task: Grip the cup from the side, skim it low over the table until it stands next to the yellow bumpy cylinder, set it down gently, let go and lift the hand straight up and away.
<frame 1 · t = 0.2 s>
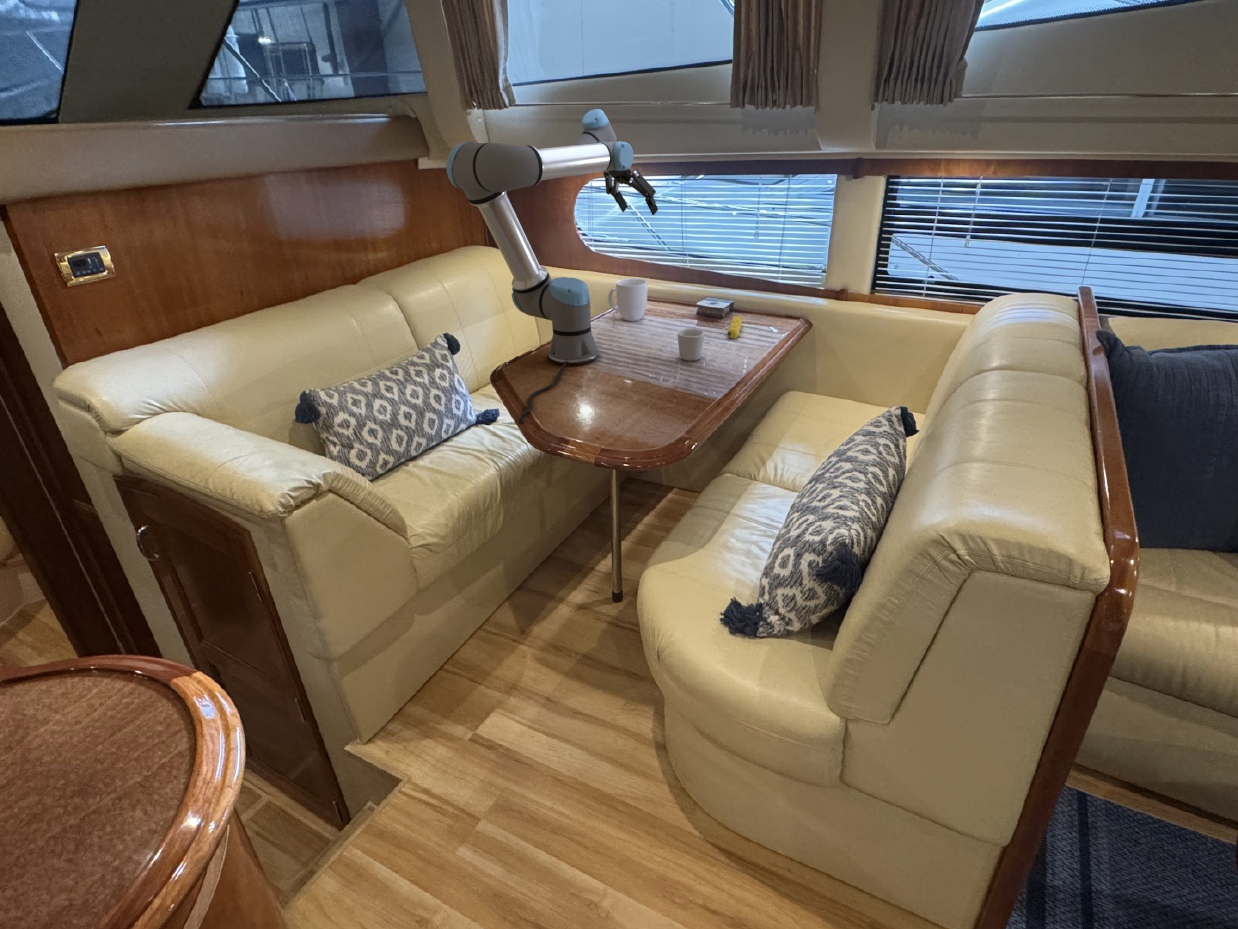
hand: (640, 210, 226), 36 cm above the table, tool tilted 35°, fingers open, 13 cm apart
mug: (629, 318, 240), on the table
yellow bumpy cylinder: (736, 331, 222), on the table
cup: (692, 357, 202), on the table
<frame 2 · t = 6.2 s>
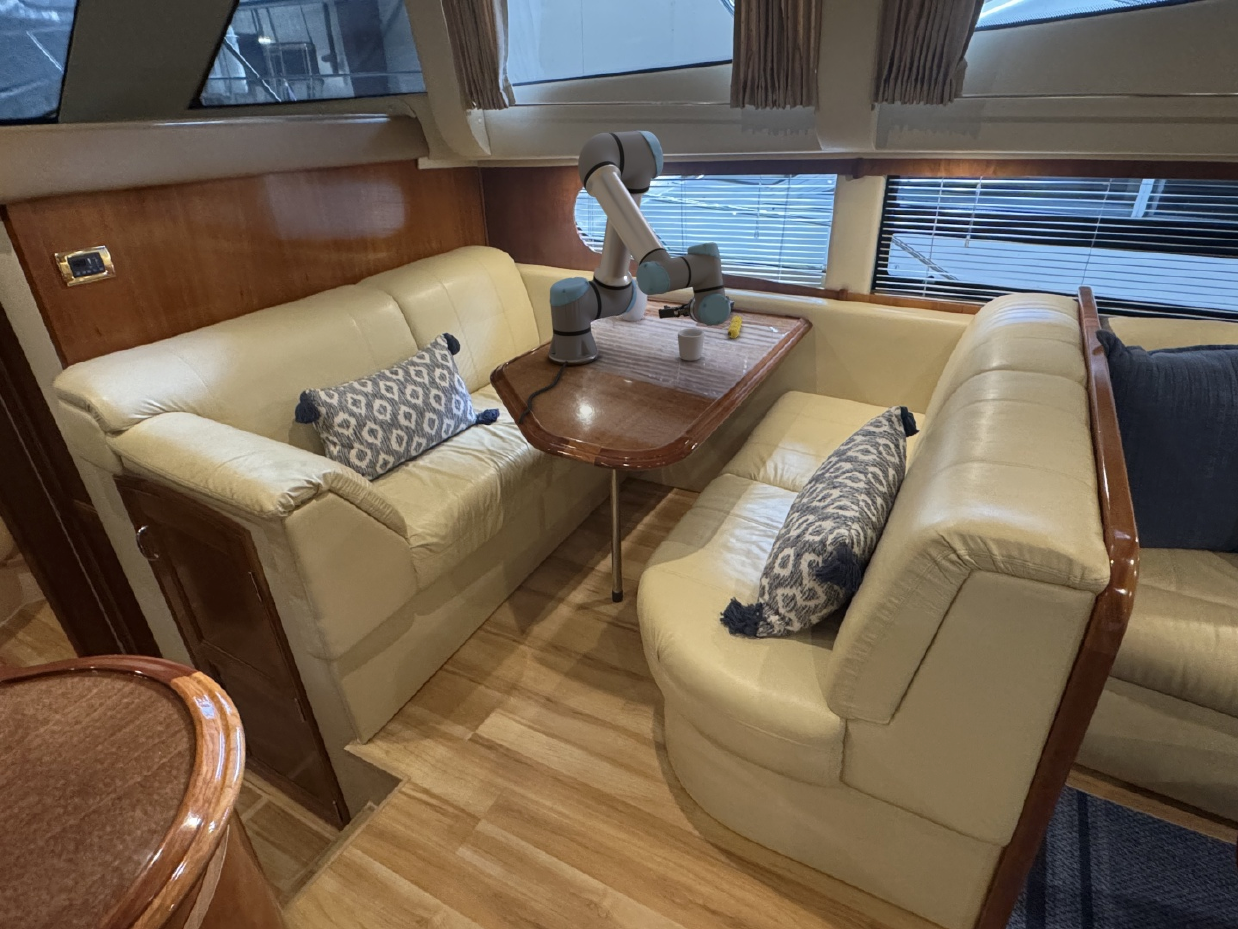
hand: (689, 306, 193), 16 cm above the table, tool horizontal, fingers open, 13 cm apart
nothing on the table moved.
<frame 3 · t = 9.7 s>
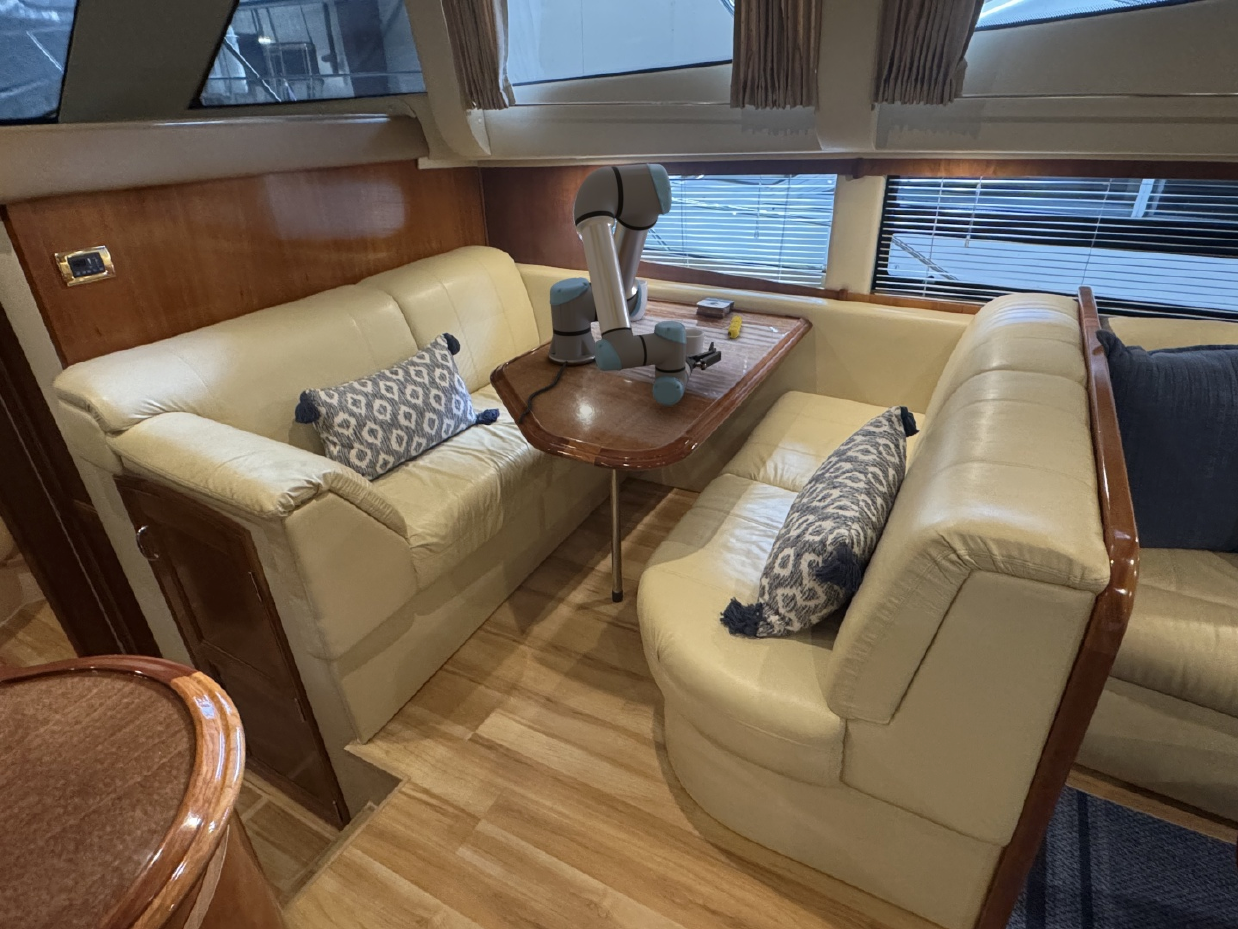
hand: (688, 345, 191), 7 cm above the table, tool horizontal, fingers open, 13 cm apart
nothing on the table moved.
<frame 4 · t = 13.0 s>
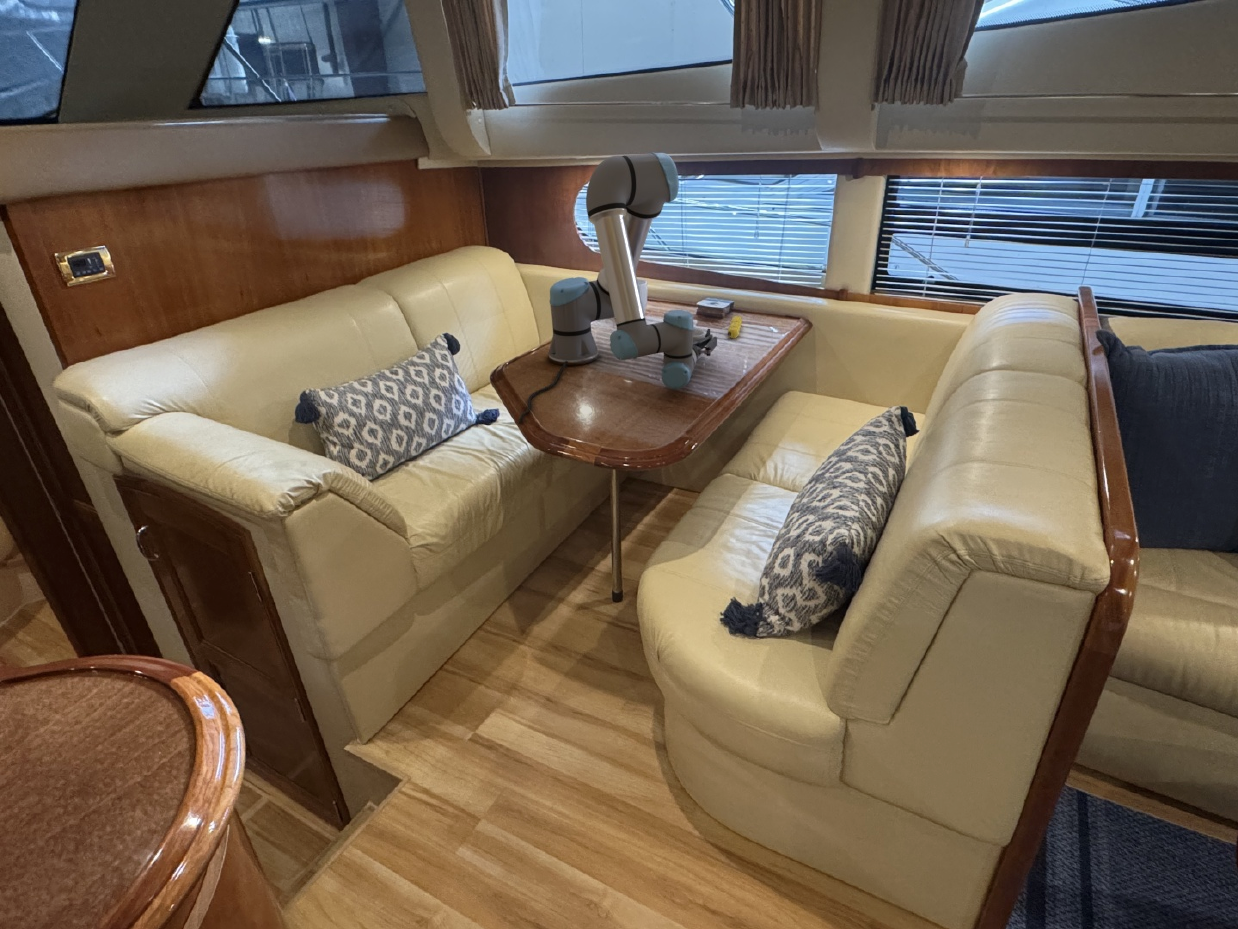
hand: (694, 332, 203), 6 cm above the table, tool horizontal, fingers closed on cup, 8 cm apart
cup: (692, 357, 202), on the table, touching gripper
everything else where it was.
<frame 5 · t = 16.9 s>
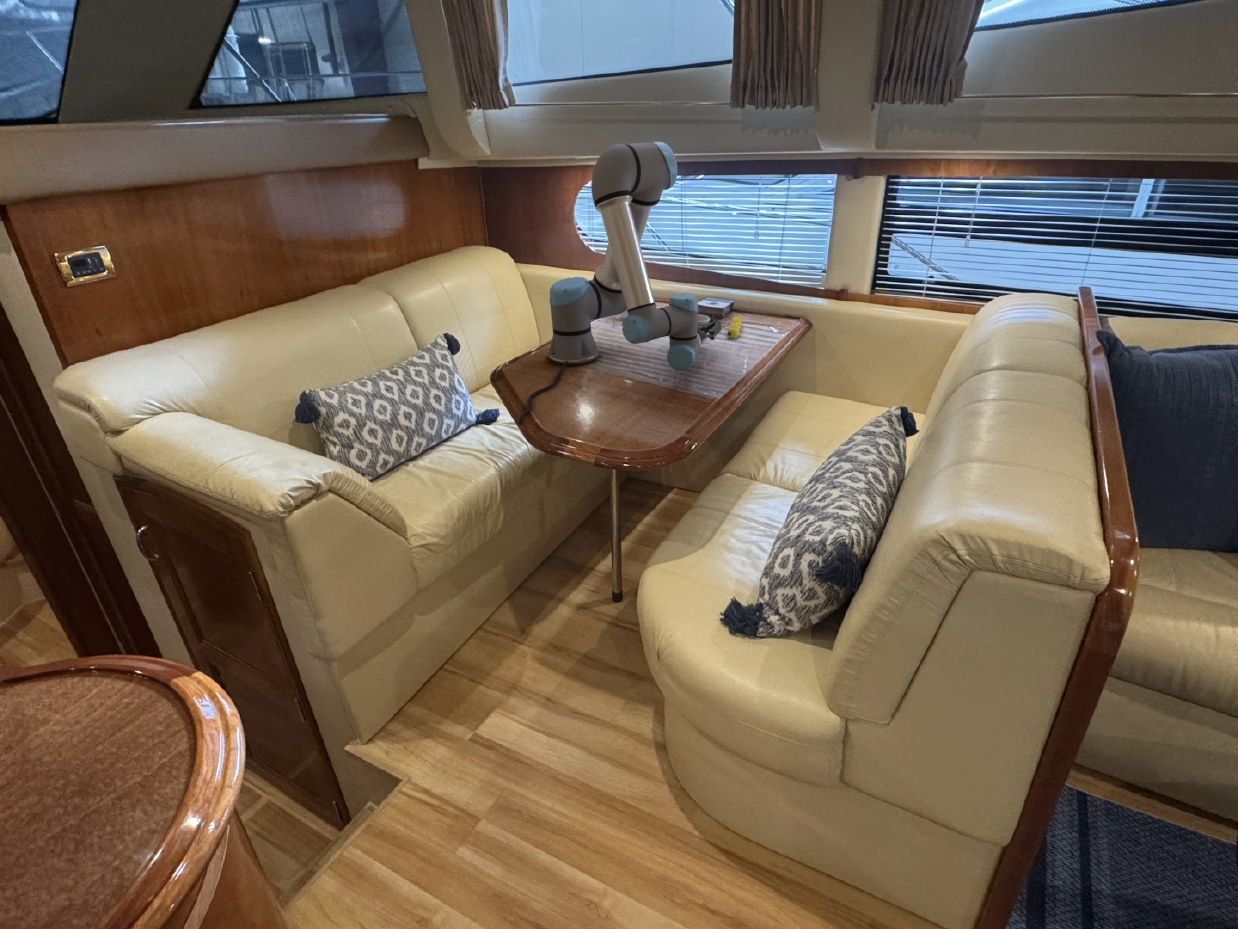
hand: (699, 318, 209), 8 cm above the table, tool horizontal, fingers closed on cup, 8 cm apart
cup: (697, 342, 208), point 2 cm above the table, touching gripper
everything else where it was.
when the fingers open (6 cm above the table, at t = 21.3 s): cup stays where it is, on the table.
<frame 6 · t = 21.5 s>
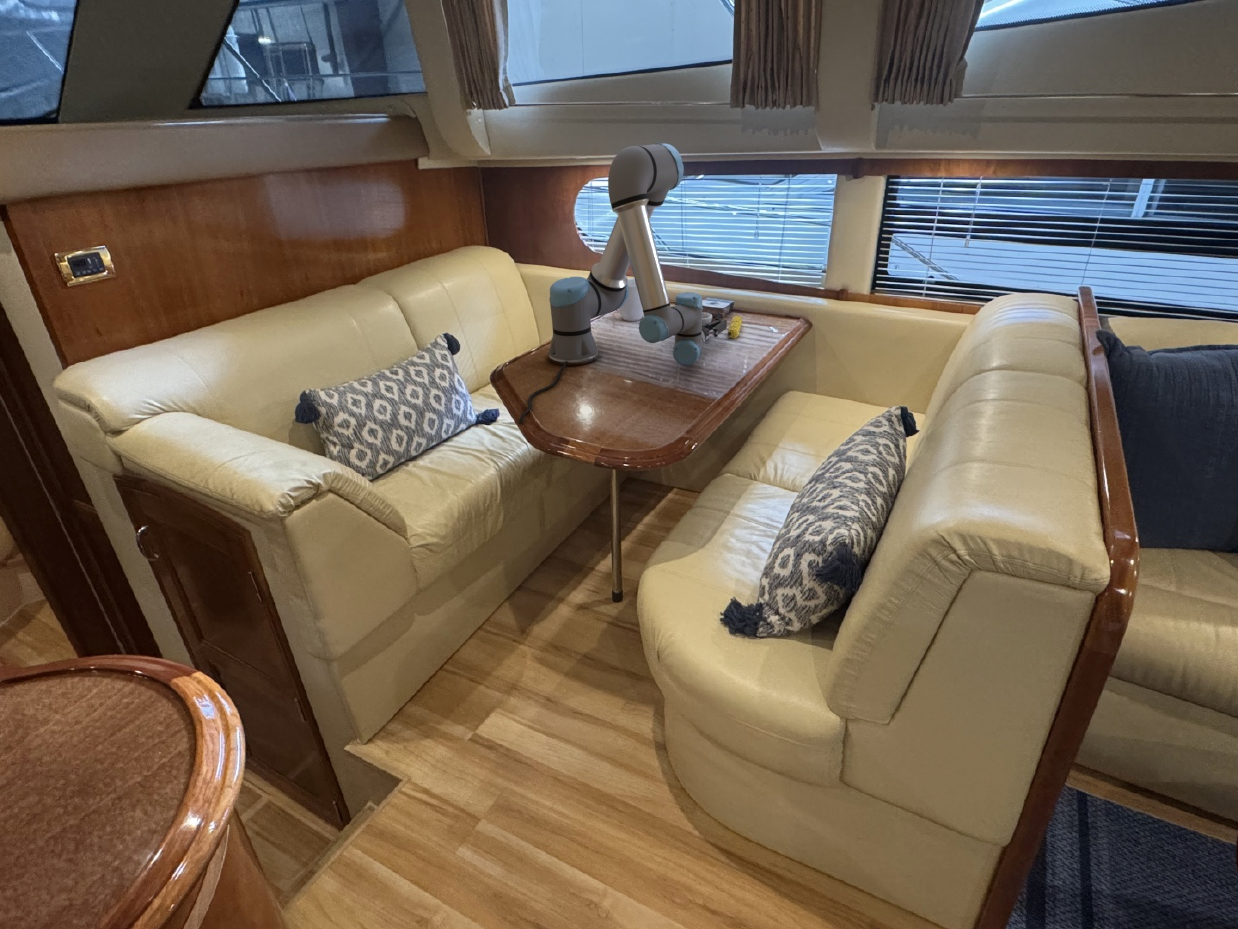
hand: (702, 316, 218), 6 cm above the table, tool horizontal, fingers open, 10 cm apart
cup: (700, 338, 217), on the table
everything else where it was.
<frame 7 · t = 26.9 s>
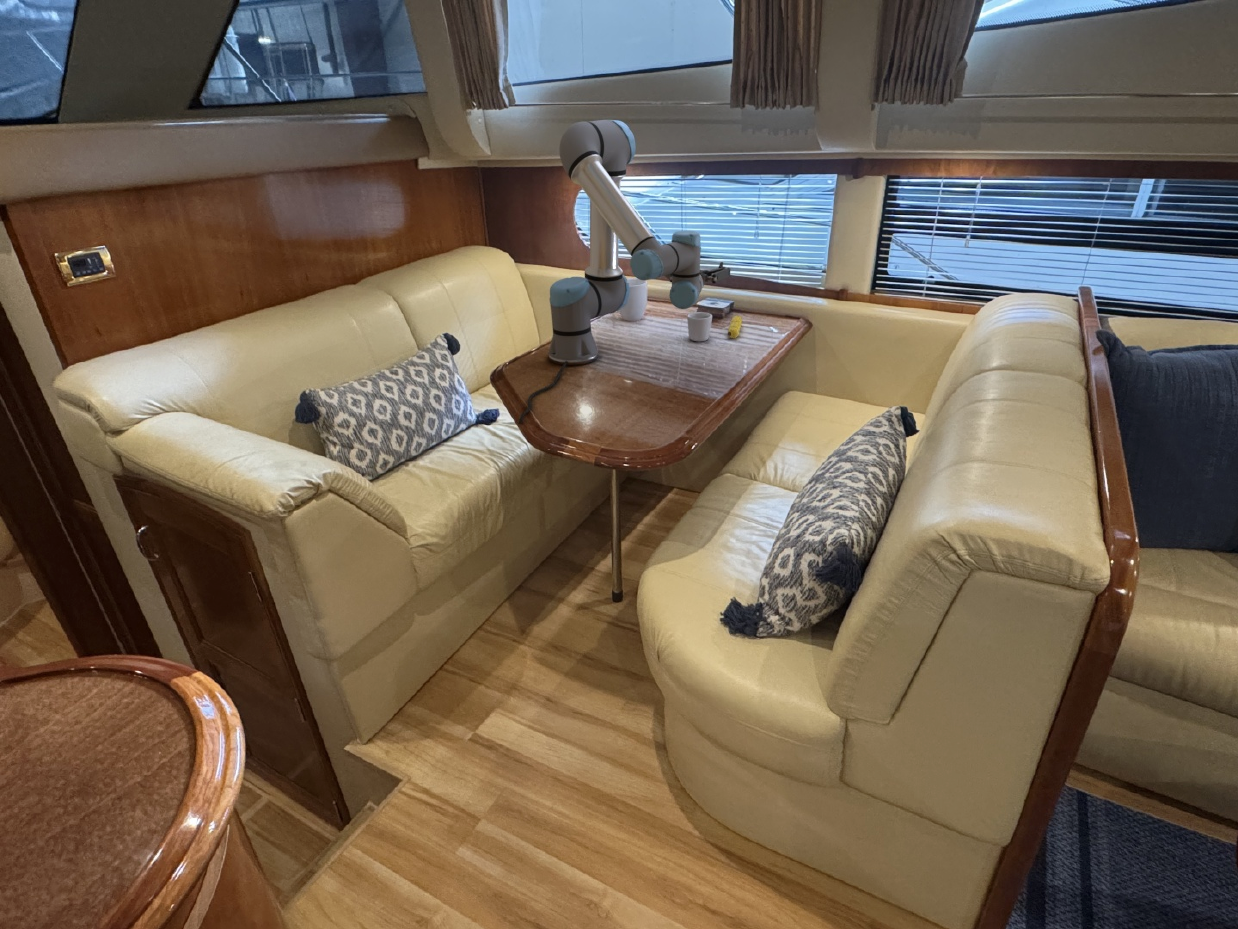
hand: (699, 265, 208), 23 cm above the table, tool horizontal, fingers open, 13 cm apart
nothing on the table moved.
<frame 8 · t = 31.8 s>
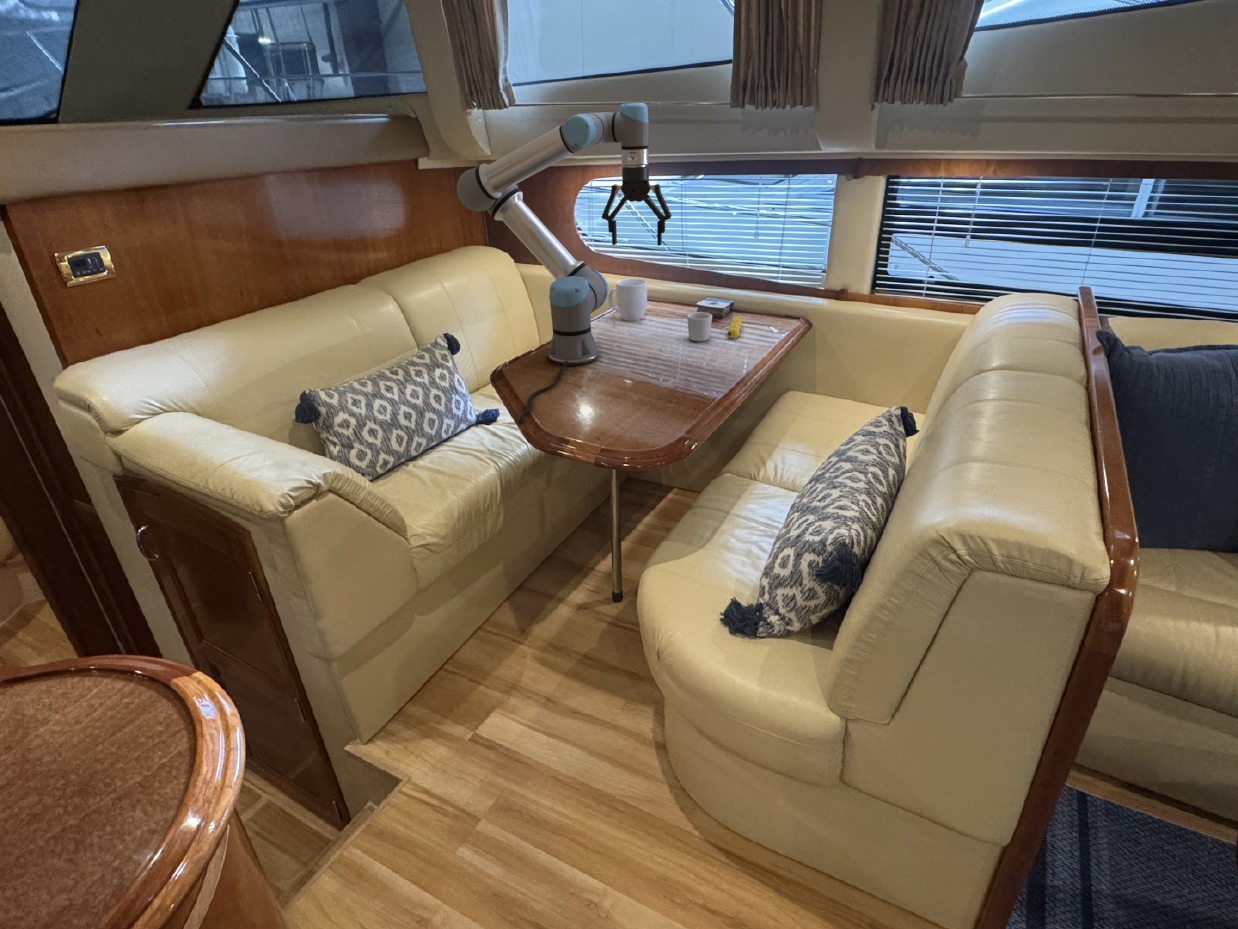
hand: (636, 244, 196), 32 cm above the table, tool pointing down, fingers open, 13 cm apart
nothing on the table moved.
at the end: cup inside the target area on the table beside the yellow bumpy cylinder (2.6 cm from its centre), on the table; cup tilted 0°; the gripper is holding nothing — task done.
